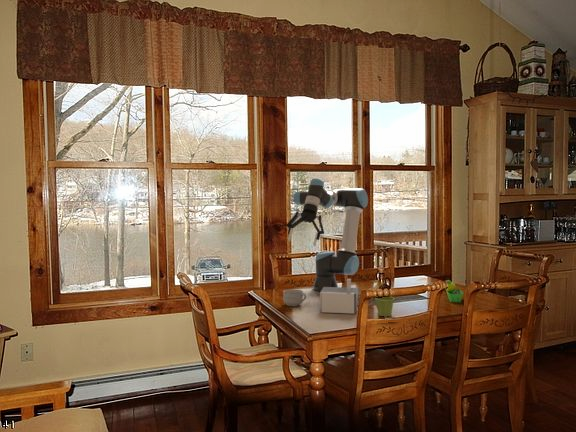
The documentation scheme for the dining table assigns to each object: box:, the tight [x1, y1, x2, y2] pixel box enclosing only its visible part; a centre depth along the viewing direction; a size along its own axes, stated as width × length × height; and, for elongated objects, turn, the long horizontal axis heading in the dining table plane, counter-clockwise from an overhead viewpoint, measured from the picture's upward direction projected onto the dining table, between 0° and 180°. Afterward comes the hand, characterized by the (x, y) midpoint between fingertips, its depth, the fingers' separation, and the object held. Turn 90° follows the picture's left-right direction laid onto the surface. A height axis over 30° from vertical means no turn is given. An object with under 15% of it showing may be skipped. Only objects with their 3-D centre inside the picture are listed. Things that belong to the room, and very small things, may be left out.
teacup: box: [282, 289, 307, 307], centre depth 248 cm, size 14×11×8 cm
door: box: [319, 278, 355, 315], centre depth 231 cm, size 2×17×17 cm, turn 78°
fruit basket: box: [445, 279, 464, 303], centre depth 255 cm, size 11×9×11 cm
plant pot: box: [374, 296, 396, 318], centre depth 226 cm, size 9×9×9 cm
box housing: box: [320, 286, 359, 315], centre depth 239 cm, size 14×18×10 cm
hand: (301, 242), depth 238 cm, fingers open, 13 cm apart
